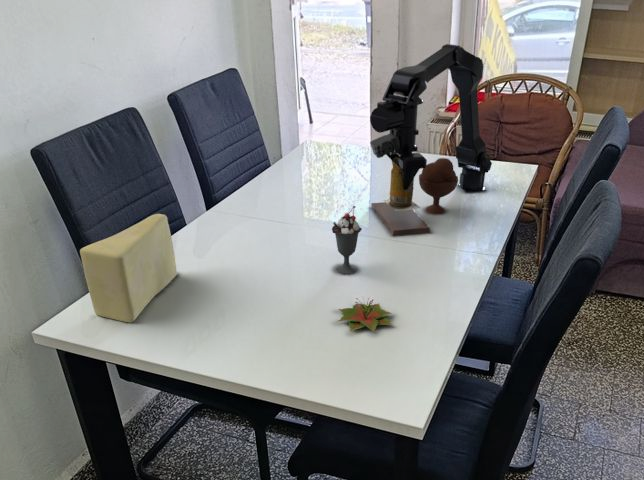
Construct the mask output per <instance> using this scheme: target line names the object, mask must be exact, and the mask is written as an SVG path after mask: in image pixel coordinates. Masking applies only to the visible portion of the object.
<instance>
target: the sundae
mask: <svg viewBox="0 0 644 480" xmlns="http://www.w3.org/2000/svg"><path fill="white" fill-rule="evenodd" d="M355 208H357V206H356V205H353V206H352V208H351V209H350V211H349V212H348V213H345V214H344V216H341V217H340V218H339V219H338V221H337V222H335V221H334V222H332V223H333V226H332V227H331V231H332V234H335V235H334V236H335V239H336V247H337V251H338V253H339V254H340V255H341V256H342V257H343V263H342V264H339V265H337V266H336V267H335V271H336V272H337V273H339V274H341V275H352V274H354V273H356V272H357V271H358V267H356V265H354V264H350V256H352V255H353V254H354V253H355V252H356V250H357V243H358V238H359V233H360V232H361V231H362V230H363V228H362V227H361V226H360V224H359V222H357V220H356V219H357V217H356V215H354V213H355V212H354V211H355ZM351 212H352V215H350V214H351Z"/></svg>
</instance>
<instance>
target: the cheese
mask: <svg viewBox="0 0 644 480" xmlns="http://www.w3.org/2000/svg"><path fill="white" fill-rule="evenodd" d="M79 254H80V259H81V263H82V268H83V273H84V278H85V281H86V286H87V288H88V293H89V296H90V300H91V304H92V308H93V311H94V313H95V315H97V316H99V317H103V318H107V319H111V320H116V321H120V322H124V323H133V322H134V321H135V320H137V318H138V317H139V316H140V314H141V313H142V312H143V310H144V309H145V308H146V307H147V305H148V304H149V303H150V302H151V301H152V299H153V298H155V296H156V295H158V294H159V293H160V292H161V291H162V290H163V289H165V288H166V287H167V286H168V285H169V284H170V283H171V282H172V281H173V280H174V279H175V278H176V276H177V273H178V270H177V262H176V261H177V260H176V254H175V248H174V242H173V238H172V234H171V229H170V225H169V221H168V216H167V215H166V214H162V213H155V214H152V215H150V216H148V217H145V218H144V219H143V220H141V221H140V222H137V223H136V224H133V225H131V226H130V227H128V228H126V229H123V230H122V231H119V232H118V233H115V234H114V235H111V236H109V237H107V238H104V239H101V240H98V241H96V242H93V243H91V244H88V245H85V246H84V247H82V248H80V249H79Z"/></svg>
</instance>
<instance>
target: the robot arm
mask: <svg viewBox="0 0 644 480" xmlns="http://www.w3.org/2000/svg"><path fill="white" fill-rule="evenodd" d="M446 70H449V73H450V77H451V82H452V83H453V85H454V87H455V88H456V89H457V91H458V98H459V100H458V101H459V113H460V114H459V115H460V127H461V128H460V129H461V140H460V141H459V143H458V145H457V146H455V152H456V154H455V159H456V161H457V167H458V168H460V169H461V168H462V169H461V172H460V174H459V180H458V183H457V186H458V187H459V188H460V189H461V190H462V191H463V192H465V193H478V192H479V193H480V192H486V189H487V188H485V187H484V185H485V179H486V173H489V171H490V170H491V168H492V165H493V162H492V160H491V159H490V156H489V155H488V151H487V145H486V143H485V141H484V140H483V138H482V137H481V135H480V120H479V119H480V118H479V100H478V99H479V97H478V86H479V85H480V83H481V81H482V80H483V77H484V75H483V74H484V61H483V59H482V58H480V57H479V56H476V55H474V54H472V53H471V52H470V51H467V50H466V49H464V47H462V46H461V45H457V44H451V43H446V44H443V45H442V46H441V48H440V49H439V50H437V51H436V52H434V53H432V54H431V55H430V56H428V57H426V58H424V59H423V60H422V61H420V62H419V63H417V64H416V65H415V64H414V65H411V66H410V65H409V66H404V67H402V68H399V69H397V70H396V71H394V72H393V74H392V77H391V79H390V80H389V83H388V85H387V87H386V90H385V92H384V94H383V97H382V101H377V103H376V107H375V108H374V109H373V110H372V112H371V113H370V116H369V117H370V118H369V119H370V120H369V121H370V125H371V128H372V129H373V130H374V131H375V132H377V133H378V134H379V133H380V134H381V133H384V132H388V131H389V133H387V134H385V135H381V136H379V137H377V138H374V139H372V140H371V141H370V142H369V144H370V147H371V150H372V153H373V155H374V156H375V157H376V158H377V159H381V158H383V157H384V156H387V157H388V158H389V159H390V161H391V165H392V166H393V160H394V158H396V157H399V164H397V166H398V167H399V168H400V169H401V170H402V181H403V189H404V190H407V189H408V188H409V186H410V184H411V182H412V181H413V179H414V180H415V177H416V176H417V174H418V173H419V171H420V170H423V168H426V165H427V164H428V163H427V162H428V160H427V158H425V156H424V155H422V154H421V153H420V152H418V148H419V147H418V146H417V145H416V137H417V136H419V132H420V130H419V129H418V128H417V122H418V109H419V106H420V105H422V104H423V103H424V101H423V99H422V98H421V97H420V96H421V95H422V94H423V93H424V92H425V91H426V90H427V87H428V83H429V82H430V81H432V80H434V79H435V78H436V77H437V76H439V75H441V74H442V73H443V72H445V71H446Z"/></svg>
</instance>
